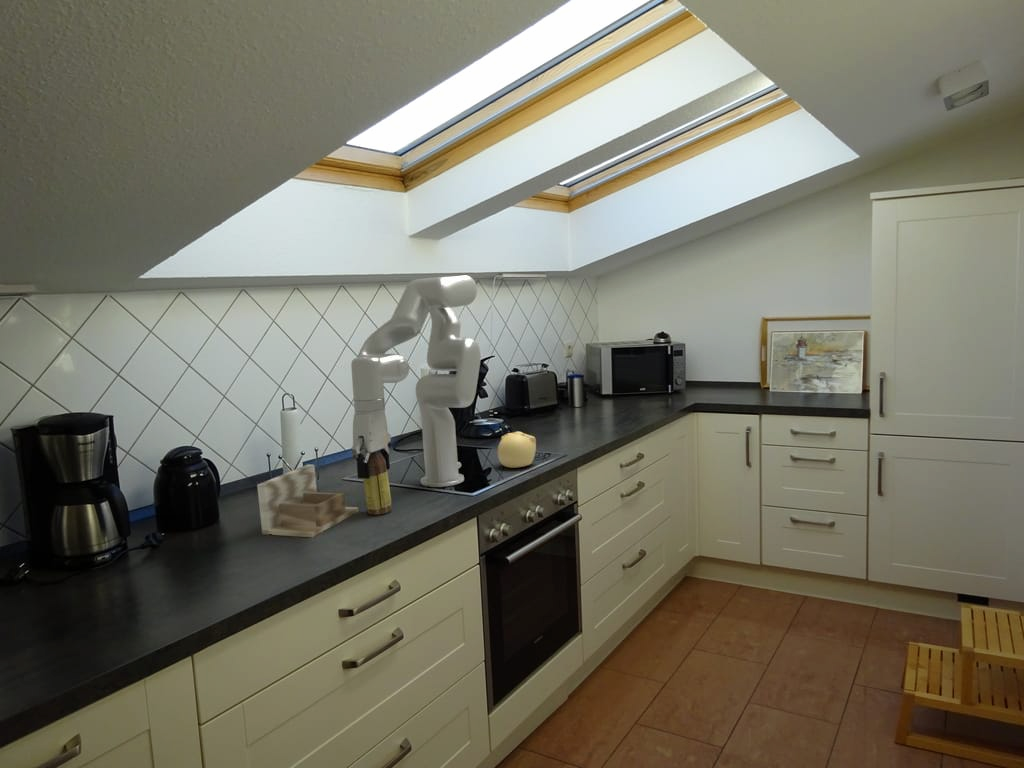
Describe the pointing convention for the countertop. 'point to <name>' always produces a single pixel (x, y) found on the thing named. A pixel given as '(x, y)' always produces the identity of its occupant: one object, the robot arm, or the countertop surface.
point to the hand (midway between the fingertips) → (374, 473)
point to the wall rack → (299, 505)
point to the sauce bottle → (377, 486)
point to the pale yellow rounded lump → (516, 449)
